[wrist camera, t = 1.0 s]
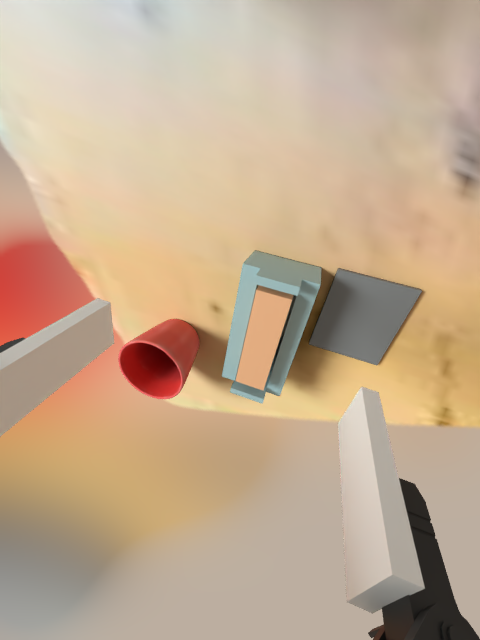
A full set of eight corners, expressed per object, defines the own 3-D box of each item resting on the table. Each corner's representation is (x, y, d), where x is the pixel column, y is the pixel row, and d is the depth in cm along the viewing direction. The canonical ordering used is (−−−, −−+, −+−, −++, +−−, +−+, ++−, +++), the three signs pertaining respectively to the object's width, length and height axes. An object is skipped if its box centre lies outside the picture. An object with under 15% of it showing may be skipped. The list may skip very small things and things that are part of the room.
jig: (255, 250, 35) (237, 270, 28) (321, 267, 34) (320, 293, 27) (233, 352, 45) (216, 387, 37) (285, 369, 43) (276, 408, 36)
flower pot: (219, 336, 44) (195, 373, 36) (191, 371, 50) (164, 410, 42) (168, 298, 43) (131, 327, 35) (145, 338, 49) (109, 371, 41)
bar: (263, 277, 32) (256, 289, 28) (295, 286, 31) (292, 300, 28) (243, 363, 39) (235, 381, 36) (268, 371, 38) (263, 390, 35)
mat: (338, 268, 33) (338, 269, 33) (420, 289, 32) (422, 291, 31) (309, 342, 39) (308, 344, 39) (376, 362, 38) (377, 365, 37)
